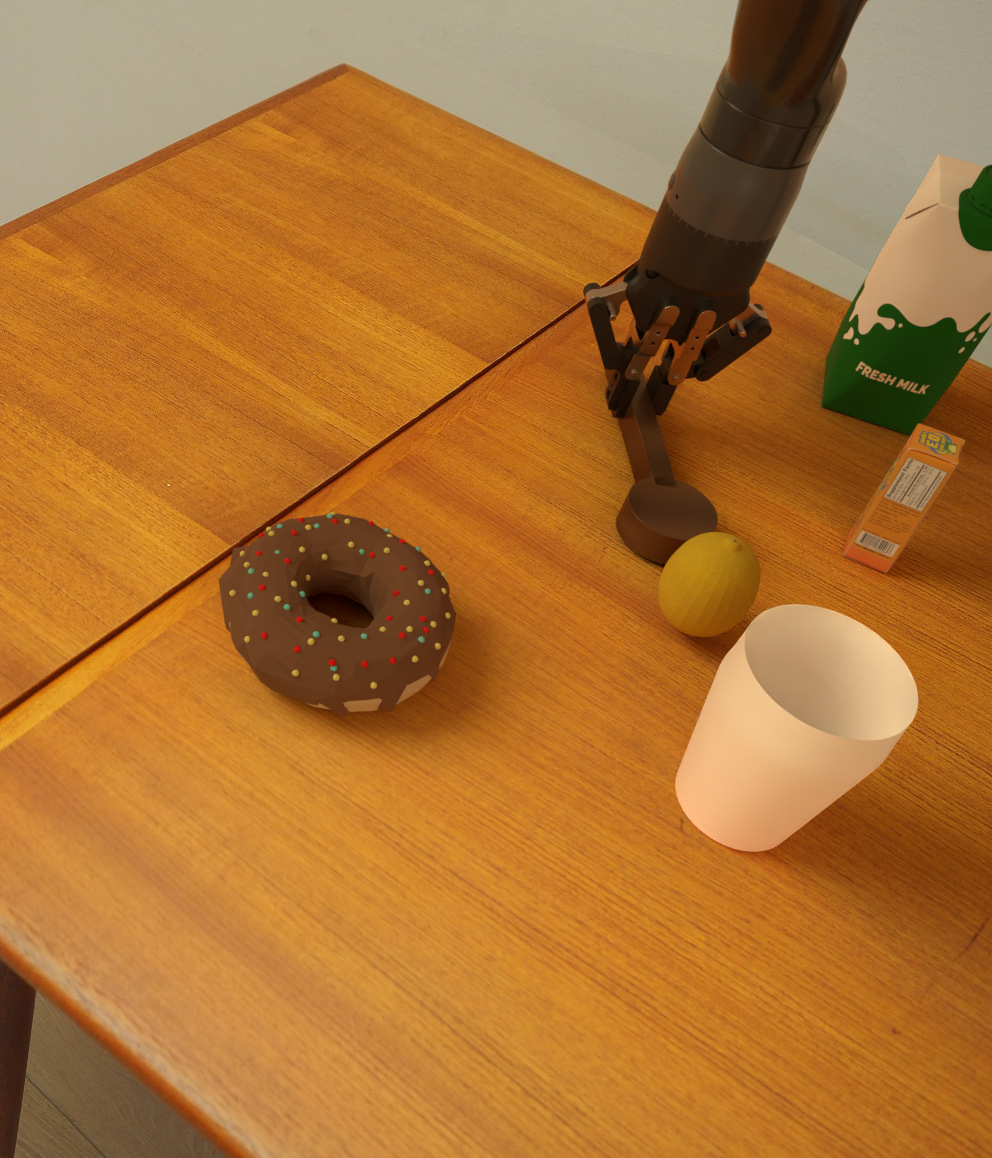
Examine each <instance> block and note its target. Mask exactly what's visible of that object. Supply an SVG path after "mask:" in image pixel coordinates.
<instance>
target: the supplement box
mask: <svg viewBox="0 0 992 1158" xmlns="http://www.w3.org/2000/svg"><path fill="white" fill-rule="evenodd" d="M965 444H966V439H964V438H961V437H959V436H956V435H953V434H950V433H948V432H945V431H943V430H940V429H938V428H934V427H932V426H928V425H926V424H923V423H921V424H920V423H918V424H917V426H916V427H915V429H914V431H913V433H912V434H911V435H909V438H908V439H907V441H906V443H905V444H904V446H903V448H902V449H901V451H900V452H899V454H898V455H897V456H896V458H895V460H894V461H893V462H892V464H891V466H890V467H889V469H888V471H887V473H886V474H885V476H884V477H883V479H882V480H881V482H880V484H879V485H878V487H877V489H876V490H875V491H874V493H873V495H872V496H871V498H870V500H869V501H868V502H867V505H866V506H865V507H864V509H863V511H862V512H861V514H860V515H859V517H858V518H857V520H856V522H855V523H854V524H853V527H851V529H850V531H849V532H848V535H847V538H846V541H845V544H844V547H843V550H842V553H841V554H842V556H844V557H846V558H847V559H850V560H852V561H855V562H857V563H859V564H861V565H864V566H867V567H869V568H871V569H873V570H876V571H878V572H881V573H884V574H887V573H888V572H890V570H891V569H892V567H893V566H894V564H895V563H896V562H897V560H898V558H899V557H900V555H901V553H902V552H903V551H904V549H905V548H906V546H907V545H908V543H909V542H910V540H911V539H912V537H913V536H914V534H915V533H916V531H917V529H918V528H919V526H920V525H921V524H922V522H923V520H924V519H925V518H926V516H927V514H928V513H929V511H930V510H931V508H932V507H933V505H934V503H935V502H936V500H937V499H938V497H939V496H940V494H941V493H942V491H943V489H944V488H945V487H946V485H947V483H948V482H949V480H950V479H951V477H952V475H953V473H954V472H955V471H956V469H957V467H958V465H960V456H961V453H962V450H963V448H964V446H965Z"/></svg>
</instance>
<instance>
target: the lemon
mask: <svg viewBox="0 0 992 1158" xmlns="http://www.w3.org/2000/svg"><path fill="white" fill-rule="evenodd" d="M761 572H762V571H761V567H760V562H759V559H758V557H757V555H756V553H755V552H754V550H753V548H751V547H750V546H749V544H748V543H746V541H744V539H741V538H739V537H737V536H736V535H733V534H731V533H727V532H721V531H714V532H709V533H703V534H700V535H697V536H695V537H693V538H691V539H689V540H688V541H686V542H685V543H684V544H683V545H682V546H681V547H680V548H679V549H678V550H677V551H676V552H675V553H674V554H673V555H672V556H671V557H670V559H669V560H668V562H667V563H666V564H664V567H663V569H662V572H661V574H660V577H659V580H658V582H657V601H658V605H659V608H660V611H661V613H662V615H663V616H664V618H665V620H666V621H667V622H668V623H669V624H670V625H671V627H673V628H675V629H676V630H677V631H679V632H680V633H683V634H685V635H688V636H691V637H698V638H709V637H715V636H719V635H721V634H724V633H727V632H729V631H730V630H732V629H733V628H734V627H735V626H737V625H738V624H740V622H742V620H743V619H744V618H745V617H746V616H747V615H748V613H749V611H750V610H751V608H752V606H753V605H754V603H755V601H756V599H757V596H758V592H759V589H760V583H761V576H762V575H761Z"/></svg>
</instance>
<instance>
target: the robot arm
mask: <svg viewBox="0 0 992 1158" xmlns="http://www.w3.org/2000/svg"><path fill="white" fill-rule="evenodd" d="M869 1H870V0H738V1H737V5H736V10H735V15H734V19H733V24H732V29H731V37H730V44H729V52H728V57H727V59H726V61H725V63H724V65H723V67H722V69H721V72H720V73H719V75H718V78H717V80H716V83H715V85H714V86H713V87H714V88H713V89H712V92H711V94H710V97H709V99H708V101H707V104H706V107H705V109H704V112H703V113H702V116H701V118H700V121H699V123H698V125H697V126H696V129H695V130H694V132H693V134H692V136H691V138H689V141H688V142H687V144H686V146H685V148H684V150H683V151H682V153H681V155H680V157H679V159H678V162H677V164H676V167H675V169H674V171H673V172H672V173H671V175H670V177H669V179H668V184H667V188H666V191H665V194H664V196H663V197H662V201H661V203H660V205H659V208H658V210H657V213H656V215H655V217H654V220H653V222H652V224H651V227H650V229H649V232H648V234H647V236H646V238H645V241H644V244H643V246H642V249H641V253H640V256H639V259H638V260H637V261H636V263H635V264H634V265H633V266H632V267H631V268H630V269H628V270H627V272H626V273H625V274H624V276H623V279H622V281H620V282H616V283H614V284H611V285H607V286H604V287H602V286H601V285H600V284H599V283H598V282H589V283H587V284H586V285H585V286H584V287H583V290H582V293H583V298H584V302H585V305H586V308H587V313H588V316H589V318H590V323H591V327H592V330H593V333H594V337H595V340H596V344H597V346H598V351H599V355H600V358H601V361H602V366H603V368H604V367H605V368H606V369H608V370H614V369H615V370H614V373H613V375H612V377H611V379H610V382H609V384H608V383H607V387H606V389H605V391H604V398H605V401H606V405H607V409H608V411H610V413H611V417H612V418H614V419H618V418H620V419H623V418H624V416H625V414H626V411H627V409H628V407H629V405H630V403H631V401H632V400H633V398H634V395H635V393H636V391H637V389H638V387H639V385H640V382H641V381H640V377H641V376H642V374H644V372H645V370H646V368H647V366H648V364H649V362H650V360H651V358H655V357H656V356H657V354H658V352H659V350H660V349H661V346H662V344H663V343H664V341H667V342H666V345H665V347H664V350H663V352H662V354H661V356H660V357H661V358H660V361H661V363H660V365H659V364H658V365H657V364H655V365H654V367H653V368H652V371H651V373H650V374H649V377H648V380H647V381H646V385H647V389H648V392H649V395H650V398H651V402H652V404H653V407H654V410H655V414H656V417H661V416H662V415H663V414H664V413H665V412H666V410H667V408H668V407H669V404H670V402H671V400H672V399H673V396H674V394H675V392H676V390H677V388H678V386H680V385H682V384H683V383H684V382H685V380H689V379H696V381H697V382H702V383H703V382H708V381H709V380H711V379H712V378H714V376H716V375H718V374H719V373H720V372H721V371H723V370H725V368H727V367H729V366H730V365H731V364H733V363H734V362H735V361H737V360H738V359H739V358H741V357H742V356H743V355H745V354H746V353H747V352H749V351H750V350H752V349H753V348H754V347H756V346H757V345H758V344H760V343H761V342H763V341H764V340H766V339H767V338H769V336H771V334H772V332H773V327H772V326H771V323H770V320H769V318H768V317H769V316H768V315H767V313H766V311H765V308H764V306H763V304H760V303H753V302H751V292H750V291H751V287H752V286H753V285H754V284H755V283H756V281H757V279H758V277H759V275H760V273H761V271H762V269H763V268H764V265H765V263H766V261H767V260H768V257H769V255H770V253H771V251H772V249H773V247H774V245H775V243H776V241H777V239H778V237H779V236H780V234H781V232H782V230H783V227H784V225H785V223H786V221H787V219H788V218H789V215H790V213H791V211H792V209H793V208H794V205H795V203H796V201H797V199H798V197H799V194H800V192H801V191H802V190H801V189H802V188H803V184H804V180H805V178H806V174H807V172H808V169H809V167H810V164H811V162H812V160H813V158H814V156H815V154H816V151H817V150H818V147H819V145H820V143H821V142H822V140H823V137H824V135H825V133H826V131H827V129H828V128H829V125H830V124H831V121H832V119H833V118H834V116H835V113H836V111H837V109H838V106H839V105H840V103H841V100H842V98H843V94H844V92H845V89H846V86H847V80H848V70H847V65H846V63H845V61H844V59H843V57H842V56H843V53H844V50H845V48H846V45H847V43H848V40H849V38H850V36H851V33H852V31H853V28H854V26H855V25H856V22H857V20H858V18H859V16H860V15H861V13H862V11H863V9H864V8H865V6H866V4H867V3H868V2H869ZM625 301H627V304H628V305H629V309H630V310H631V314H632V318H631V320H630V323H629V326H628V333H627V335H626V337H625V339H624V341H623V342H624V344H623V345H622V344H620V343H617V342H618V341H617V340H616V338H615V333H614V329H613V325H612V322H613V321H616V320H617V317H618V316H619V314H620V313H621V305H622V304H623V303H624V302H625Z"/></svg>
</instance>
